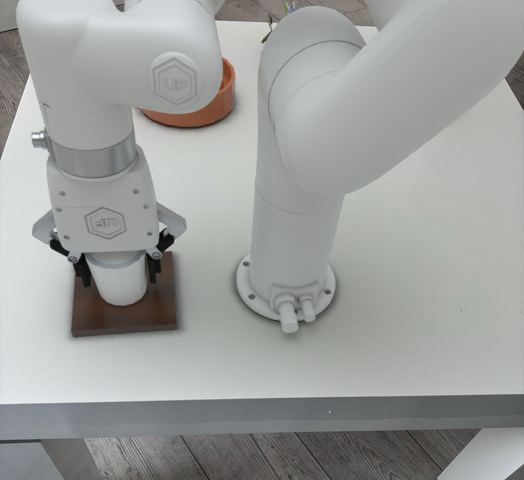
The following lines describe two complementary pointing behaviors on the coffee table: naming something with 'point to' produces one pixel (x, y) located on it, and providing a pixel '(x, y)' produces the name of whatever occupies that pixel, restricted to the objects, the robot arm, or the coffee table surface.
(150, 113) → the bowl
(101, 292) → the white cup
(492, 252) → the coffee table surface
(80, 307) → the pad
